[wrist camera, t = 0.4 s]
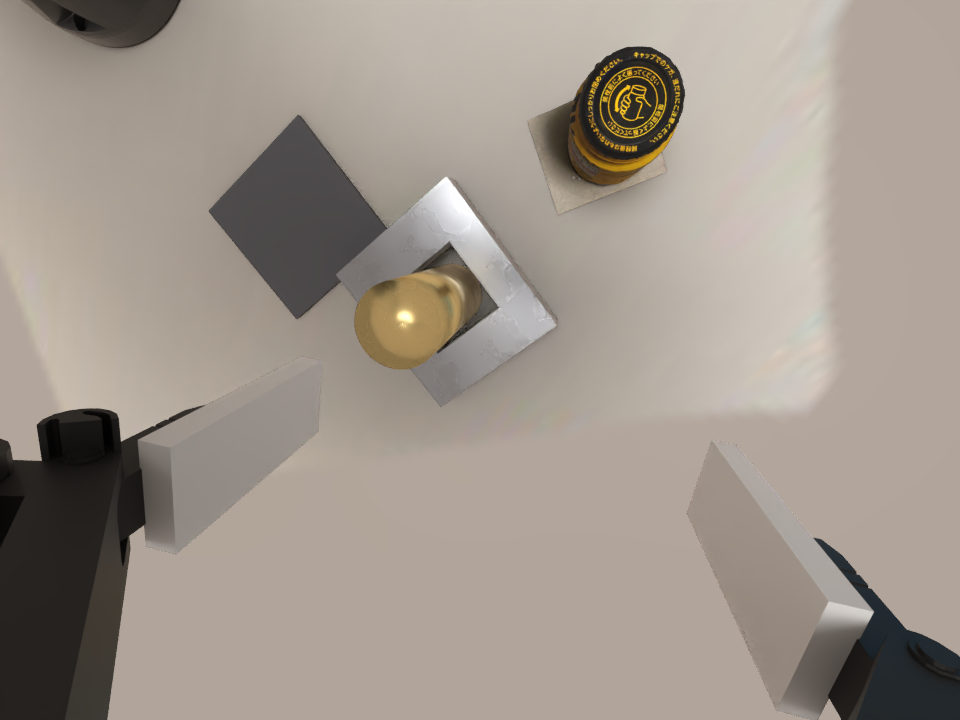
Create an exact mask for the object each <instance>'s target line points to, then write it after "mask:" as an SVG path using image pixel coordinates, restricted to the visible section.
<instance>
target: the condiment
mask: <svg viewBox="0 0 960 720" xmlns="http://www.w3.org/2000/svg"><path fill="white" fill-rule="evenodd" d="M684 97H685V90H684V86H683V81H682V78H681V75H680V72H679V70H678V68H677V67H676V66H675V65H674V64H673V63H672V61H671V59H670V58H668V57H667V56H666V55H664V54H663V53H661V52H659V51H657V50H655V49H653V48H652V47H626V48H623V49H621V50H618V51H616V52H614V53H612V54H611V55H609V56H606V57H605V58H604V59H603V60H602V61H601V62H600V63H597V64H596V65H595V69H594V70H593V71H592V72H591V73H590V74H589V75H588V77H587V78H586V80H585V81H584V82H583V84H582V85H581V86H580V88H579V90H578V91H577V94H576V97H575V99H574V100H573V101H570V102H569V103H566V104H564V105H562V106H559V107H558V108H556V109H553V110H551V111H549V112H546V113H544V114H542V115H539V116H537V117H535V118H533V119H531V120H528V121H527V122H528V125H529V128H530V131H531V134H532V137H533V140H534V143H535V146H536V149H537V152H538V156H539V158H540V161H541V165H542V168H543V171H544V174H545V176H546V180H547V183H548V186H549V189H550V192H551V195H552V198H553V201H554V204H555V207H556V210H557V213H558V215H559V214H562V213H564V212H567V211H569V210H572V209H574V208H577V207H579V206H582V205H584V204H587V203H589V202H592V201H594V200H597V199H600V198H602V197H605V196H607V195H610V194H612V193H615V192H617V191H620V190H622V189H625V188H627V187H630V186H632V185H635V184H638V183H640V182H643V181H645V180H648V179H650V178H653V177H655V176H658V175H660V174H663V173H665V172H667V170H666V166H665V163H664V159H663V155H662V151H663V150H664V149H665V147H666V146H667V144H668V143H669V141H670V139H671V137H672V136H673V133H674V131H675V129H676V127H677V123H678V122H679V118H680V116H681V113H682V111H683V102H684ZM572 176H574V177H576V179H572ZM578 178H580V179H581V180H580V181H579V180H578Z"/></svg>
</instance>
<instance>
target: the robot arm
mask: <svg viewBox="0 0 960 720" xmlns="http://www.w3.org/2000/svg"><path fill="white" fill-rule="evenodd" d="M22 1H23V2H25V3H26V4H27V5H28V6H30V7H31V8H32V9H34V10H35V11H36V12H37V13H39V14H40V15H41V16H43V17H44V18H45V19H46V20H48V21H49V22H51V23H52V24H54V25H56V26H57V27H59V28H61V29H63V30H65V31H67V32H69V33H71V34H74V35H76V36H78V37H81V38H83V39H86V40H88V41H91V42H93V43H96V44H99V45H103V46H108V47H127V46H131V45H135V44H138V43H140V42H142V41H144V40H146V39H148V38H149V37H151V36H152V35H154V34H155V33H156V32H157V31H158V30H159V29H160V28H161V27H162V26H163V25H164V24H165V23H166V21H167V20H168V19H169V17H170V16H171V14H172V12H173V11H174V9H175V7H176V5H177V3H178V0H22ZM321 372H322V361H321V360H316V359H312V358H307V357H302V356H301V357H299V358H297V359H295V360H294V361H292V362H290V363H288V364H286V365H284V366H282V367H280V368H278V369H276V370H274V371H272V372H270V373H268V374H266V375H264V376H262V377H260V378H258V379H256V380H254V381H252V382H250V383H248V384H246V385H244V386H243V387H241V388H239V389H237V390H235V391H233V392H231V393H229V394H227V395H225V396H223V397H221V398H219V399H217V400H215V401H213V402H211V403H209V404H207V405H203V406H199V407H196V408H192V409H188V410H184V411H182V412H180V413H178V414H176V415H174V416H172V417H170V418H169V420H164V421H162V422H160V423H158V424H156V426H155V427H154V426H152V427H150V428H148V429H146V430H144V431H142V432H140V433H138V434H136V435H134V436H132V437H130V438H128V439H126V440H124V441H122V442H121V439H120V428H119V418H118V415H117V414H116V413H114V412H112V411H110V410H105V409H78V410H70V411H65V412H62V413H58V414H54V415H52V416H49V417H47V418H45V419H43V420H42V421H41V422H39V423H38V424H37V431H38V437H39V444H40V451H41V457H42V461H24V460H13V459H12V453H11V447H10V445H9V443H8V441H5V440H2V439H0V720H107V717H108V710H109V702H110V695H111V687H112V680H113V673H114V666H115V658H116V651H117V644H118V636H119V629H120V621H121V614H122V607H123V600H124V591H125V585H126V577H127V569H128V563H129V555H130V540H129V536H130V535H131V534H132V533H134V532H135V531H136V530H138V529H139V528H141V527H142V526H143V525H144V528H145V541H146V547H149V548H153V549H157V550H161V551H164V552H168V553H172V554H177V553H178V552H179V551H181V550H182V549H183V548H184V547H185V546H187V545H188V544H189V543H190V542H191V541H192V540H193V539H195V538H196V537H197V536H198V535H199V534H200V533H202V532H203V531H204V530H205V529H206V528H207V527H208V526H210V525H211V524H212V523H213V522H214V521H216V520H217V519H218V518H219V517H220V516H221V515H222V514H224V513H225V512H226V511H227V510H228V509H229V508H231V507H232V506H233V505H234V504H235V503H236V502H238V501H239V500H240V499H241V498H242V497H243V496H244V495H245V494H247V493H248V492H249V491H250V490H251V489H253V488H254V487H255V486H256V485H257V484H258V483H260V482H261V481H262V480H263V479H264V478H265V477H267V476H268V475H269V474H270V473H271V472H272V471H274V470H275V469H276V468H277V467H278V466H279V465H280V464H282V463H283V462H284V461H285V460H286V459H287V458H289V457H290V456H291V455H292V454H293V453H294V452H296V451H297V450H298V449H299V448H300V447H301V446H303V445H304V444H305V443H306V442H307V441H308V440H309V439H311V438H312V437H313V436H314V435H315V434H316V433H318V429H319V410H320V391H321ZM687 515H688V517H689V519H690V522H691V523H692V526H693V528H694V530H695V533H696V535H697V537H698V539H699V541H700V544H701V546H702V548H703V550H704V552H705V555H706V557H707V559H708V561H709V563H710V566H711V568H712V570H713V572H714V574H715V577H716V579H717V581H718V583H719V586H720V588H721V590H722V592H723V594H724V597H725V599H726V601H727V603H728V605H729V608H730V610H731V612H732V614H733V616H734V619H735V621H736V623H737V625H738V627H739V630H740V632H741V634H742V636H743V638H744V641H745V643H746V645H747V647H748V650H749V651H750V654H751V656H752V658H753V661H754V663H755V665H756V667H757V669H758V672H759V674H760V676H761V678H762V680H763V683H764V685H765V687H766V689H767V691H768V693H769V696H770V698H771V700H772V702H773V705H774V707H775V709H776V711H779V712H783V713H787V714H790V715H794V716H798V717H802V718H806V719H810V720H818V719H819V717H820V715H821V713H822V711H823V709H824V707H825V705H826V703H827V701H828V699H830V700H831V702H832V704H833V705H834V707H835V709H836V711H837V712H838V714H839V716H840V718H841V720H960V657H959V656H958V655H957V654H955V653H954V652H952V651H951V650H949V649H948V648H946V647H944V646H943V645H941V644H940V643H938V642H936V641H934V640H932V639H930V638H928V637H926V636H924V635H922V634H919V633H916V632H912V631H909V630H907V629H906V628H905V627H904V626H903V625H902V624H901V623H900V621H899V620H898V619H897V618H896V617H895V616H894V615H893V613H892V612H891V611H890V610H889V609H888V608H887V607H886V605H885V604H884V603H883V602H882V601H881V600H880V598H879V597H878V596H877V595H876V594H875V593H874V592H873V590H872V589H869V588H868V585H867V583H866V582H865V581H864V580H863V579H862V578H861V576H860V575H857V574H856V571H855V570H854V568H853V567H852V566H851V565H850V564H849V563H848V561H846V559H845V558H844V557H843V556H842V555H841V554H840V553H838V552H837V551H836V550H835V549H833V548H832V547H831V546H829V545H828V544H827V543H825V542H824V541H822V540H821V539H817V538H813V537H812V536H811V535H810V534H809V532H808V531H807V530H806V529H805V527H804V526H803V525H802V524H801V523H800V521H799V520H798V519H797V518H796V517H795V515H794V514H793V513H792V512H791V510H790V509H789V508H788V507H787V505H786V504H785V503H784V502H783V501H782V500H781V498H780V497H779V496H778V495H777V493H776V492H775V491H774V490H773V488H772V487H771V486H770V485H769V484H768V482H767V481H766V480H765V479H764V478H763V476H762V475H761V474H760V473H759V472H758V470H757V469H756V468H755V467H754V466H753V464H752V463H751V462H750V461H749V459H748V458H747V457H746V456H745V455H744V453H743V452H742V451H741V450H740V449H739V447H738V446H737V445H734V444H730V443H724V442H719V441H715V440H711V443H710V446H709V449H708V452H707V455H706V458H705V461H704V464H703V467H702V470H701V473H700V476H699V479H698V482H697V485H696V487H695V490H694V493H693V496H692V499H691V502H690V505H689V509H688V511H687Z"/></svg>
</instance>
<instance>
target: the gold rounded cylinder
mask: <svg viewBox="0 0 960 720" xmlns="http://www.w3.org/2000/svg"><path fill="white" fill-rule="evenodd" d="M481 298H482V293H481V287H480V284H479V282H478V280H477V278H476V277H475V275H474V274H473V273H472V272H471V271H470V270H468V269H467V268H465V267H463V266H460V265H457V264H446V265H441V266H438V267H434V268H431V269H427V270H424V271H420V272H416V273H413V274H409V275H406V276H402V277H399V278H395V279H391V280H388V281H384V282H381V283H378V284H376V285H375V286H373V287H371V288H370V289H369V290H368V291H367V292H366V293H365V294H364V295H363V296H362V298H361V299H360V301H359V303H358V306H357V308H356V312H355V331H356V334H357V338H358V340H359V342H360V344H361V346H362V348H363V349H364V350H365V352H366V353H367V354H368V355H369V356H370V357H371V358H372V359H373V360H375V361H376V362H378V363H379V364H381V365H383V366H386V367H389V368H393V369H411V368H414V367H417V366H419V365H421V364H423V363H424V362H426V361H427V360H428V359H429V358H430V357H431V356H432V355H433V354H434V353H435V352H437V351H438V350H439V349H440V348H441V347H442V346H443V345H444V344H445V343H446V342H447V341H448V340H449V339H450V338H451V337H452V336H453V335H454V334H455V333H456V332H457V331H458V330H459V329H460V328H461V327H462V326H464V325H465V324H466V323H467V322H468V321H469V320H470V319H471V318H472V317H473V316H474V315H475V314H476V312H477V311H478V309H479V307H480V304H481Z"/></svg>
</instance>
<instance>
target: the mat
mask: <svg viewBox="0 0 960 720" xmlns="http://www.w3.org/2000/svg"><path fill="white" fill-rule="evenodd" d="M209 213H210V214H211V215H212V216H213V218H214V219H215V220H216V221H217V222H218V224H219V225H220V226H221V227H222V229H223V230H224V231H225V232H226V233H227V235H228V236H229V237H230V238H231V240H232V241H233V242H234V243H235V244H236V246H237V247H238V248H239V249H240V251H241V252H242V253H243V254H244V255H245V257H246V258H247V259H248V260H249V262H250V263H251V264H252V265H253V266H254V268H255V269H256V270H257V271H258V273H259V274H260V275H261V276H262V277H263V279H264V280H265V281H266V282H267V284H268V285H269V286H270V287H271V289H272V290H273V291H274V292H275V293H276V295H277V296H278V297H279V298H280V300H281V301H282V302H283V303H284V304H285V306H286V307H287V308H288V309H289V311H290V312H291V313H292V314H293V315H294V317H295V318H296V319H298V318H299V317H301V316H302V315H303V314H304V313H305V312H306V311H307V310H308V309H310V308H311V307H312V306H313V305H314V304H315V303H316V302H318V301H319V300H320V299H321V298H322V297H323V296H324V295H326V294H327V293H328V292H329V291H330V290H331V289H332V288H333V287H335V286H336V285H337V284H338V283H339V282H340V280H339V278H338V277H337V276H336V274H337V273H338V272H339V271H340V270H341V269H343V268H344V267H345V266H346V265H347V264H348V263H349V262H350V261H352V260H353V259H354V258H355V257H356V256H357V255H358V254H359V253H361V252H362V251H363V250H364V249H365V248H366V247H367V246H368V245H370V244H371V243H372V242H373V241H374V240H375V239H376V238H377V237H379V236H380V235H381V234H382V233H383V232H384V231H385V230H386V229H387V228H386V227H385V225H384V224H383V223H382V221H381V220H380V219H379V218H378V216H377V215H376V214H375V212H374V211H373V210H372V208H371V207H370V206H369V205H368V203H367V202H366V201H365V199H364V198H363V197H362V195H361V194H360V193H359V192H358V190H357V189H356V188H355V186H354V185H353V184H352V182H351V181H350V180H349V179H348V177H347V176H346V175H345V173H344V172H343V171H342V169H341V168H340V167H339V166H338V164H337V163H336V162H335V160H334V159H333V158H332V156H331V155H330V154H329V152H328V151H327V150H326V149H325V147H324V146H323V145H322V143H321V142H320V141H319V139H318V138H317V137H316V136H315V134H314V133H313V132H312V130H311V129H310V128H309V126H308V125H307V124H306V123H305V121H304V120H303V119H302V117H301V116H299V115H298V116H297V117H296V118H295V119H294V120H293V121H292V122H291V123H290V124H289V125H288V126H287V127H286V128H285V130H284V131H283V132H282V133H281V134H280V135H279V136H278V137H277V138H276V139H275V140H274V141H273V142H272V143H271V145H270V146H269V147H268V148H267V149H266V150H265V151H264V152H263V153H262V154H261V155H260V156H259V157H258V158H257V160H256V161H255V162H254V163H253V164H252V165H251V166H250V167H249V168H248V169H247V170H246V171H245V172H244V174H243V175H242V176H241V177H240V178H239V179H238V180H237V181H236V182H235V183H234V184H233V185H232V186H231V187H230V189H229V190H228V191H227V192H226V193H225V194H224V195H223V196H222V197H221V198H220V199H219V200H218V201H217V202H216V204H215V205H214V206H213V207H212V208H211V209H210V210H209Z"/></svg>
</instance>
